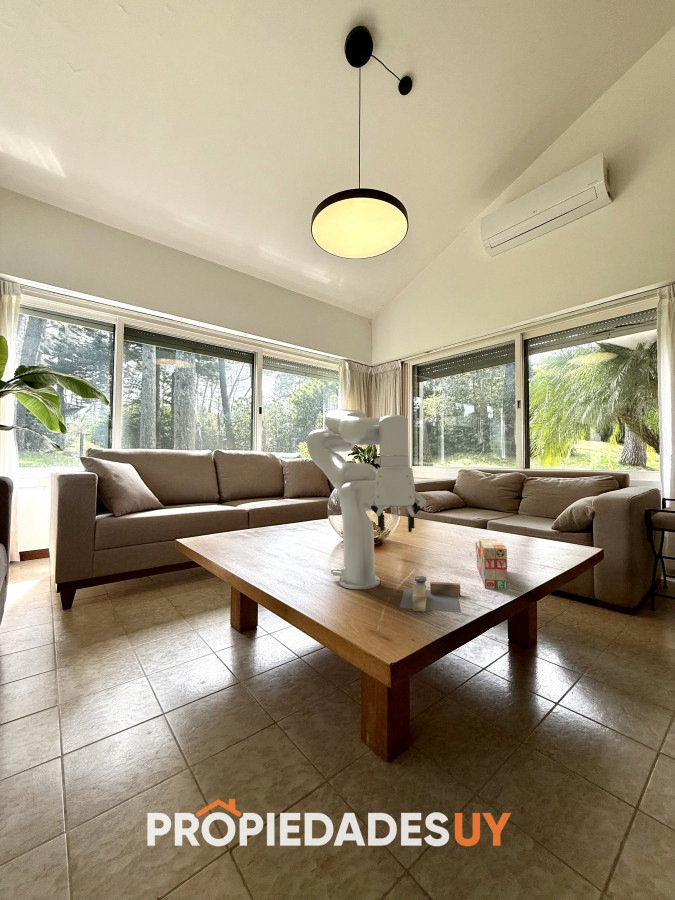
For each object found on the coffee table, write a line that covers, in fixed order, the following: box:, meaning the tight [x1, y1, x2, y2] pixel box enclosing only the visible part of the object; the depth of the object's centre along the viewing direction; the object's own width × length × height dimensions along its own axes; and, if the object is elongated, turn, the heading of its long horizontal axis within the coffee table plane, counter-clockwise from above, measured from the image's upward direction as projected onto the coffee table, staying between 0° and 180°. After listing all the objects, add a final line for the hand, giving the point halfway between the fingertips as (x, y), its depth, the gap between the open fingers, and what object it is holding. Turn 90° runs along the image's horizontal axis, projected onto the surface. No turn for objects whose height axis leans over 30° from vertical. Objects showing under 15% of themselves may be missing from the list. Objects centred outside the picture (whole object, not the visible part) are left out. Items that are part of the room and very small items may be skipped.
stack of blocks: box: [475, 538, 509, 591], centre depth 118 cm, size 21×6×12 cm, turn 166°
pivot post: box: [414, 575, 427, 585], centre depth 104 cm, size 3×3×5 cm
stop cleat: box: [429, 581, 461, 597], centre depth 105 cm, size 8×2×3 cm, turn 75°
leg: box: [412, 583, 427, 612], centre depth 98 cm, size 3×9×4 cm, turn 165°
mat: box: [399, 588, 462, 613], centre depth 101 cm, size 15×14×1 cm
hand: (396, 530), depth 98 cm, fingers open, 6 cm apart
